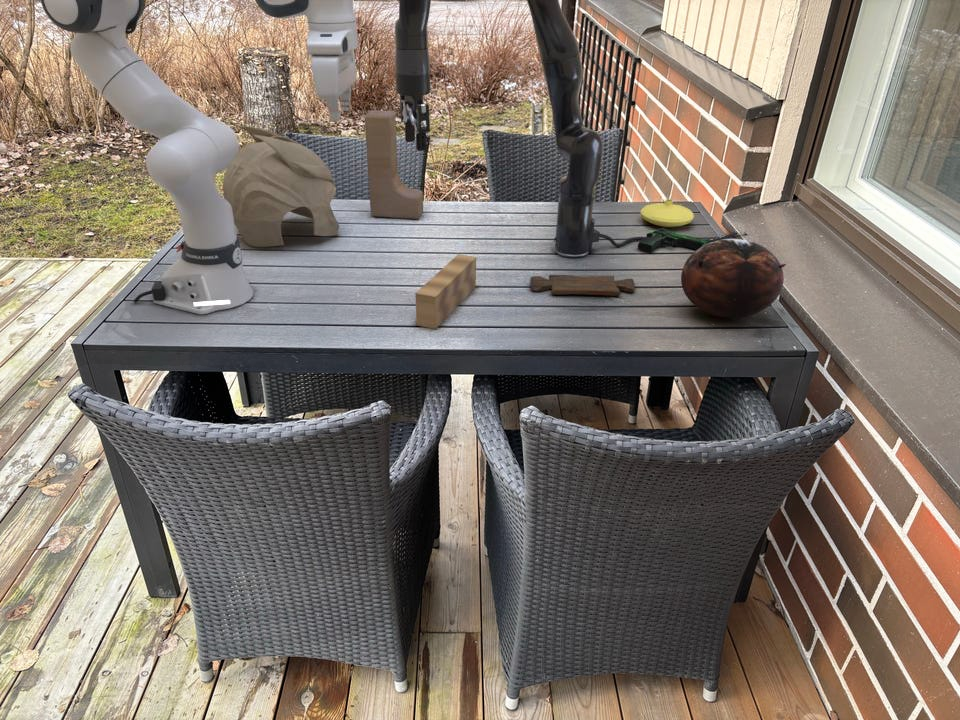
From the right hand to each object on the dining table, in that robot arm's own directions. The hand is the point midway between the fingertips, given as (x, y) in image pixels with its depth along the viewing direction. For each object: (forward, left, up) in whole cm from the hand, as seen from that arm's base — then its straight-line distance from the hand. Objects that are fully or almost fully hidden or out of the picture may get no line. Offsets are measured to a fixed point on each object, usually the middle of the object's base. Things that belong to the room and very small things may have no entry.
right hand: (415, 145), depth 164 cm
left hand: (+20, +14, +11) cm, 27 cm away
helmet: (+26, -41, -33) cm, 59 cm away
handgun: (-71, +8, -33) cm, 79 cm away
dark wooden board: (-35, +22, -33) cm, 52 cm away
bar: (-1, +18, -33) cm, 37 cm away
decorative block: (-9, -46, -33) cm, 57 cm away
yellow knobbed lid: (-82, -9, -33) cm, 89 cm away
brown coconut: (-58, +46, -33) cm, 81 cm away
